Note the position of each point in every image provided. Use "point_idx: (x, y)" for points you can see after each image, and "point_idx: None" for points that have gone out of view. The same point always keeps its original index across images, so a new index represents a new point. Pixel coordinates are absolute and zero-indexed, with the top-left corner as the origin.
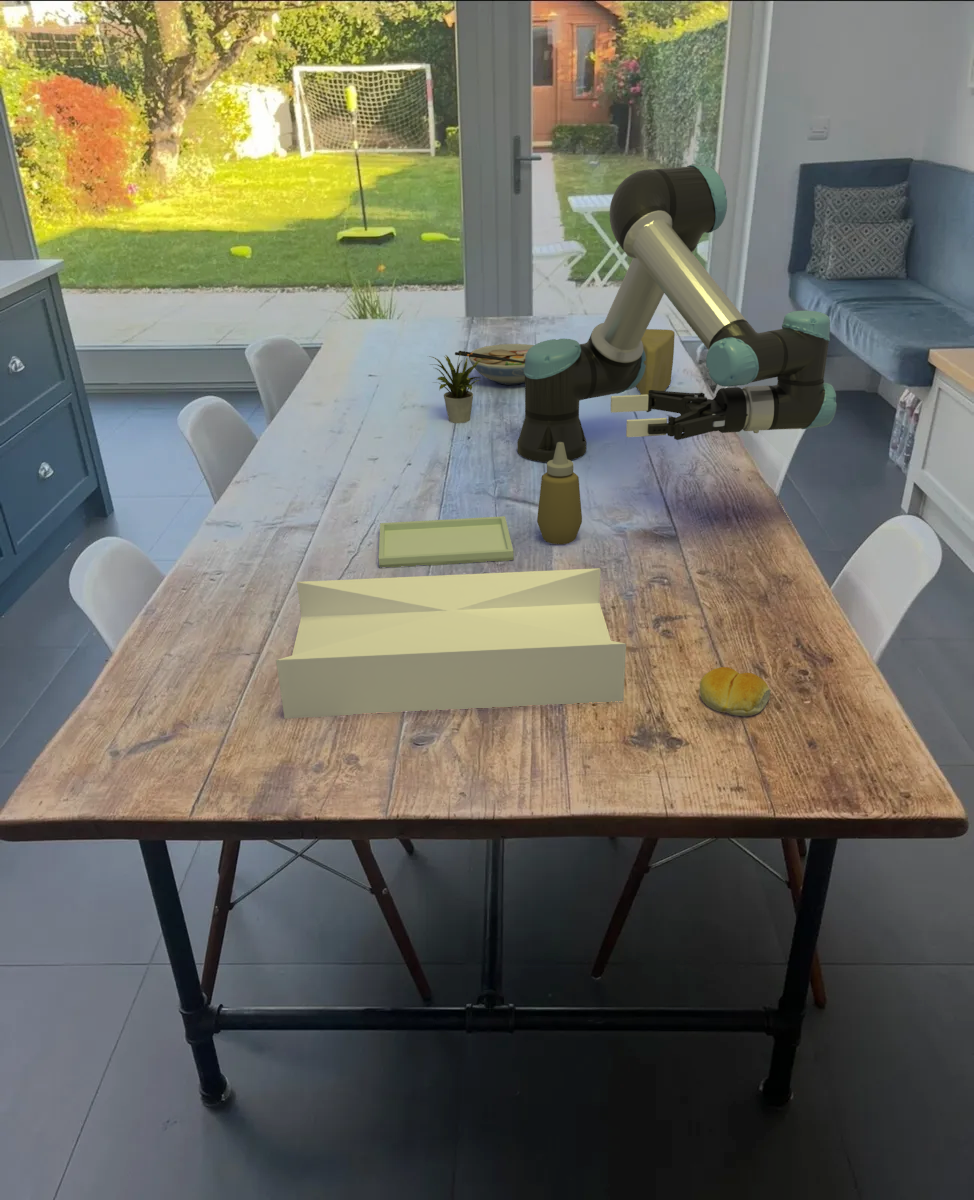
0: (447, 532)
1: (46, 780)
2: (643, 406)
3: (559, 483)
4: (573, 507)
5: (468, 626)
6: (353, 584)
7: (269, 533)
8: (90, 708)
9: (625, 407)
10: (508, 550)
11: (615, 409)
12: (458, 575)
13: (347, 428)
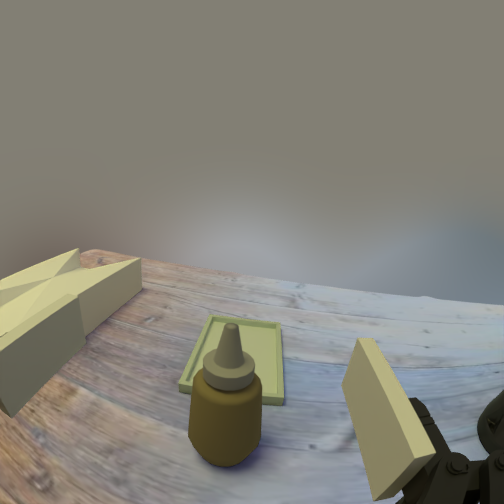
0: (263, 359)
1: (102, 251)
2: (378, 472)
3: (196, 373)
4: (191, 421)
5: (33, 276)
6: (119, 265)
7: (285, 294)
8: (133, 256)
9: (358, 409)
10: (182, 380)
11: (348, 387)
12: (85, 289)
13: (467, 320)
